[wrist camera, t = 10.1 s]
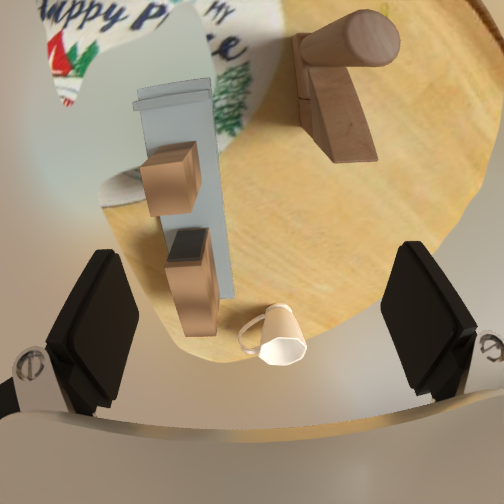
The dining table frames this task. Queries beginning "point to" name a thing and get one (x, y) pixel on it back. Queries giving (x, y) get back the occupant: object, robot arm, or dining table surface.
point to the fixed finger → (194, 282)
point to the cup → (277, 336)
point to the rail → (203, 131)
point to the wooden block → (341, 81)
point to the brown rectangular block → (172, 179)
